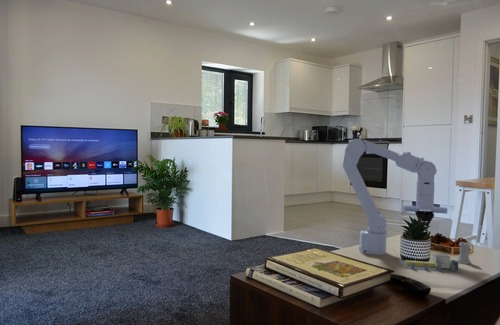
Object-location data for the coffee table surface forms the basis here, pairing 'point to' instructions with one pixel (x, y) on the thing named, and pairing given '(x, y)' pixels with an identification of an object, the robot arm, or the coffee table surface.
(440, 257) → the sleeve
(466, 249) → the rook chess piece
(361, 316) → the coffee table surface
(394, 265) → the coffee table surface
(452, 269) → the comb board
